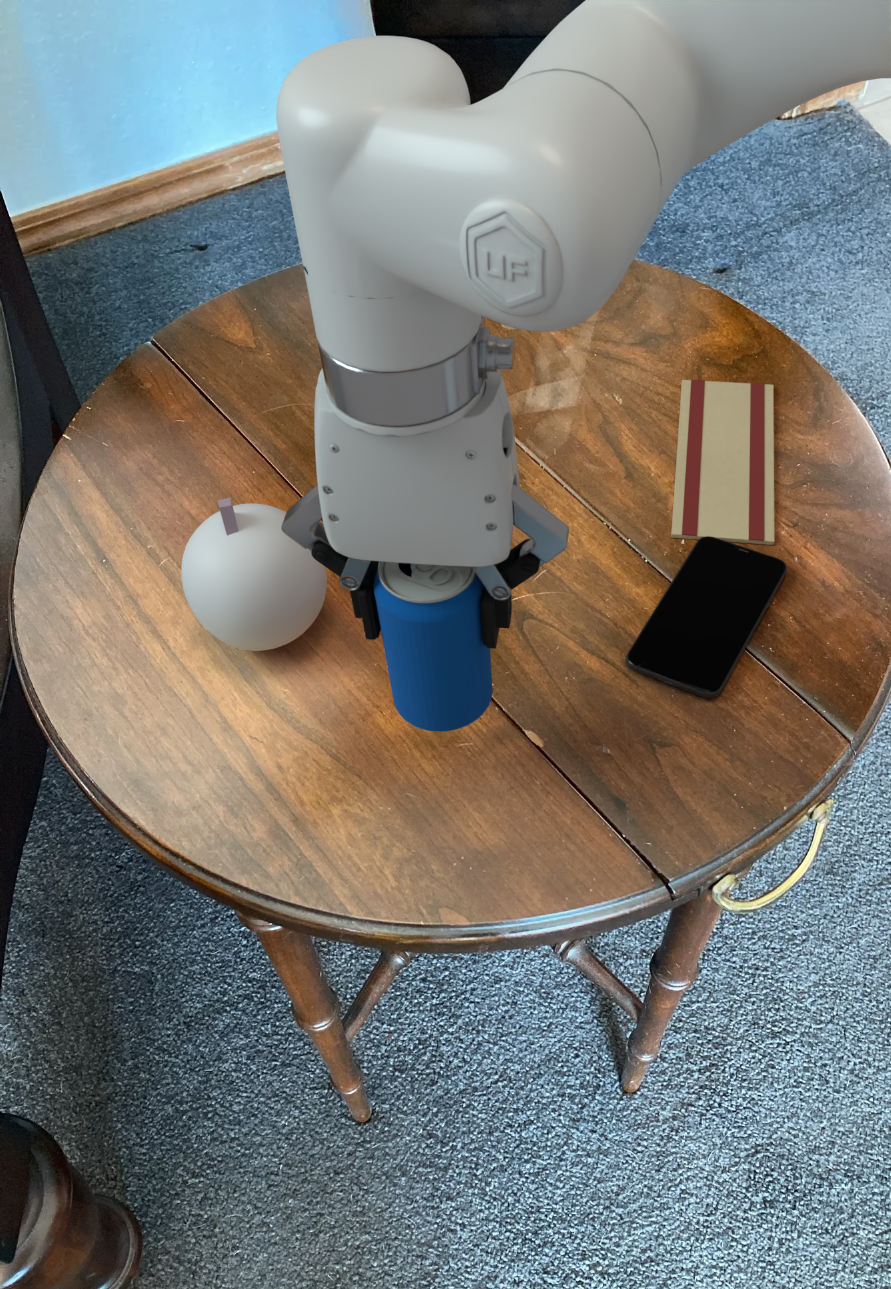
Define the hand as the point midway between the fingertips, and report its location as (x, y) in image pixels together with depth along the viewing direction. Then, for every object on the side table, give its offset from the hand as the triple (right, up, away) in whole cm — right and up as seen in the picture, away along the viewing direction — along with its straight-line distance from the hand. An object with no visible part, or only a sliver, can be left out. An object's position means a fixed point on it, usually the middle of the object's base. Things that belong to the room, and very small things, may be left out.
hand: (434, 624), depth 65 cm
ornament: (-13, +3, +18) cm, 23 cm away
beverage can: (+1, -4, +6) cm, 7 cm away
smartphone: (+20, +3, +16) cm, 26 cm away
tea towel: (+24, +18, +26) cm, 40 cm away
